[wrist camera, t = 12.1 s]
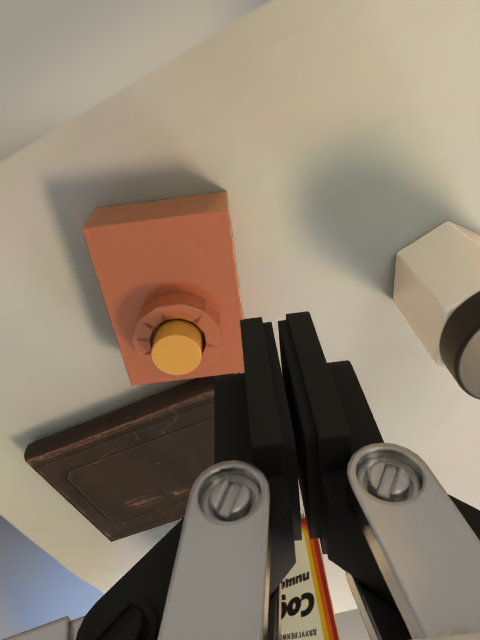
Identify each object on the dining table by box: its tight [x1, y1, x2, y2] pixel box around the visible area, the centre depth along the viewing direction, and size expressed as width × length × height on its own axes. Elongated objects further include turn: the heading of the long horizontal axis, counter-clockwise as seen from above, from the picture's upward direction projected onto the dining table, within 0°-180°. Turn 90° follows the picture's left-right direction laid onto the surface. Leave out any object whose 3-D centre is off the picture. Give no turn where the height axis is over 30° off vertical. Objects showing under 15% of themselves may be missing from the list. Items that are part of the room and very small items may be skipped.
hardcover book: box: [24, 373, 240, 542], centre depth 48 cm, size 16×23×2 cm
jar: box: [393, 221, 480, 400], centre depth 34 cm, size 9×8×12 cm
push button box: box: [82, 191, 245, 386], centre depth 35 cm, size 14×10×6 cm
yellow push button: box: [151, 320, 202, 375], centre depth 33 cm, size 4×4×2 cm
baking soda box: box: [281, 518, 340, 640], centre depth 51 cm, size 10×6×16 cm
